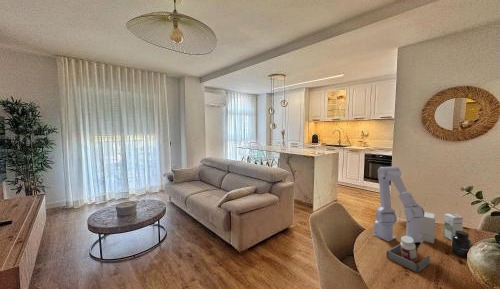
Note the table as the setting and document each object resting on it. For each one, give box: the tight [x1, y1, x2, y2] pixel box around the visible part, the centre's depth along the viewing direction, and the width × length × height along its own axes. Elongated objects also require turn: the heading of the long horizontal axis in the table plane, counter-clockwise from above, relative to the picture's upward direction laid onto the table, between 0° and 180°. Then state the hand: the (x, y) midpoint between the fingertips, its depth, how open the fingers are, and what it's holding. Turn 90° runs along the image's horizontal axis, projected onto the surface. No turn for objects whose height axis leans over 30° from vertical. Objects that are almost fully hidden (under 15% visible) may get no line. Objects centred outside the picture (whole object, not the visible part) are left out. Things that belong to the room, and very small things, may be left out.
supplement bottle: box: [451, 230, 472, 259], centre depth 109 cm, size 7×7×12 cm
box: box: [386, 243, 431, 274], centre depth 106 cm, size 14×13×4 cm
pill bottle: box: [399, 235, 418, 263], centre depth 105 cm, size 6×6×11 cm
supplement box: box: [420, 211, 436, 244], centre depth 126 cm, size 9×9×15 cm
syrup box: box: [443, 212, 464, 241], centre depth 125 cm, size 6×6×14 cm
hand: (412, 254), depth 108 cm, fingers closed
